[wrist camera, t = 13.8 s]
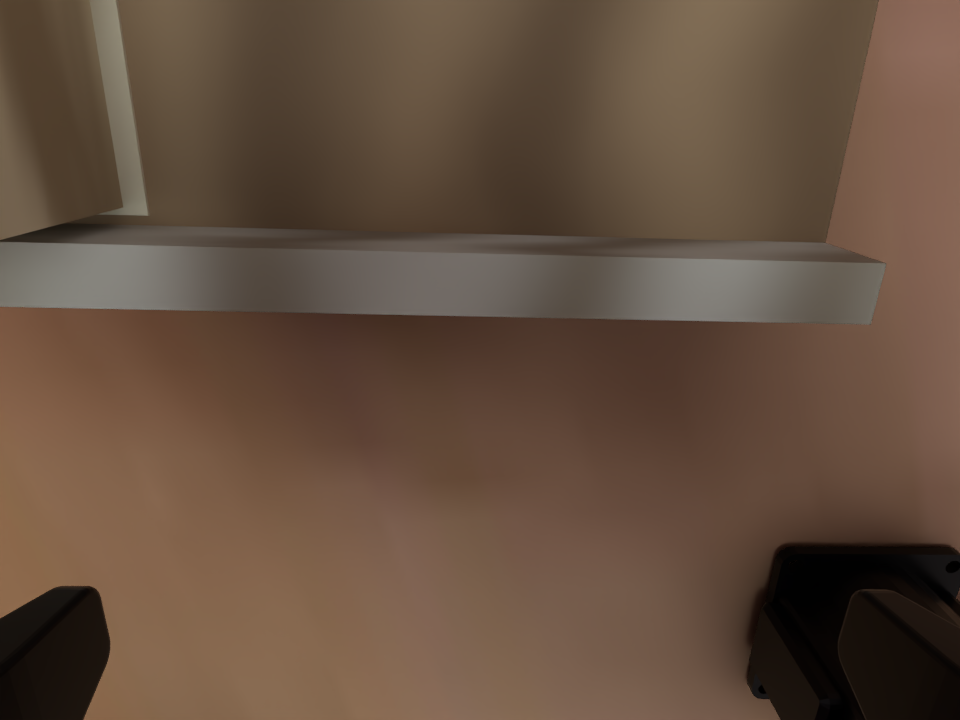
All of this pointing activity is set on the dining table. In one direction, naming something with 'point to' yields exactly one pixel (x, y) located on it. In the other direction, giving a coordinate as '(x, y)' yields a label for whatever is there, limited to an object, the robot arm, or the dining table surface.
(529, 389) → the dining table surface
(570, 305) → the walnut board
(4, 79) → the block
